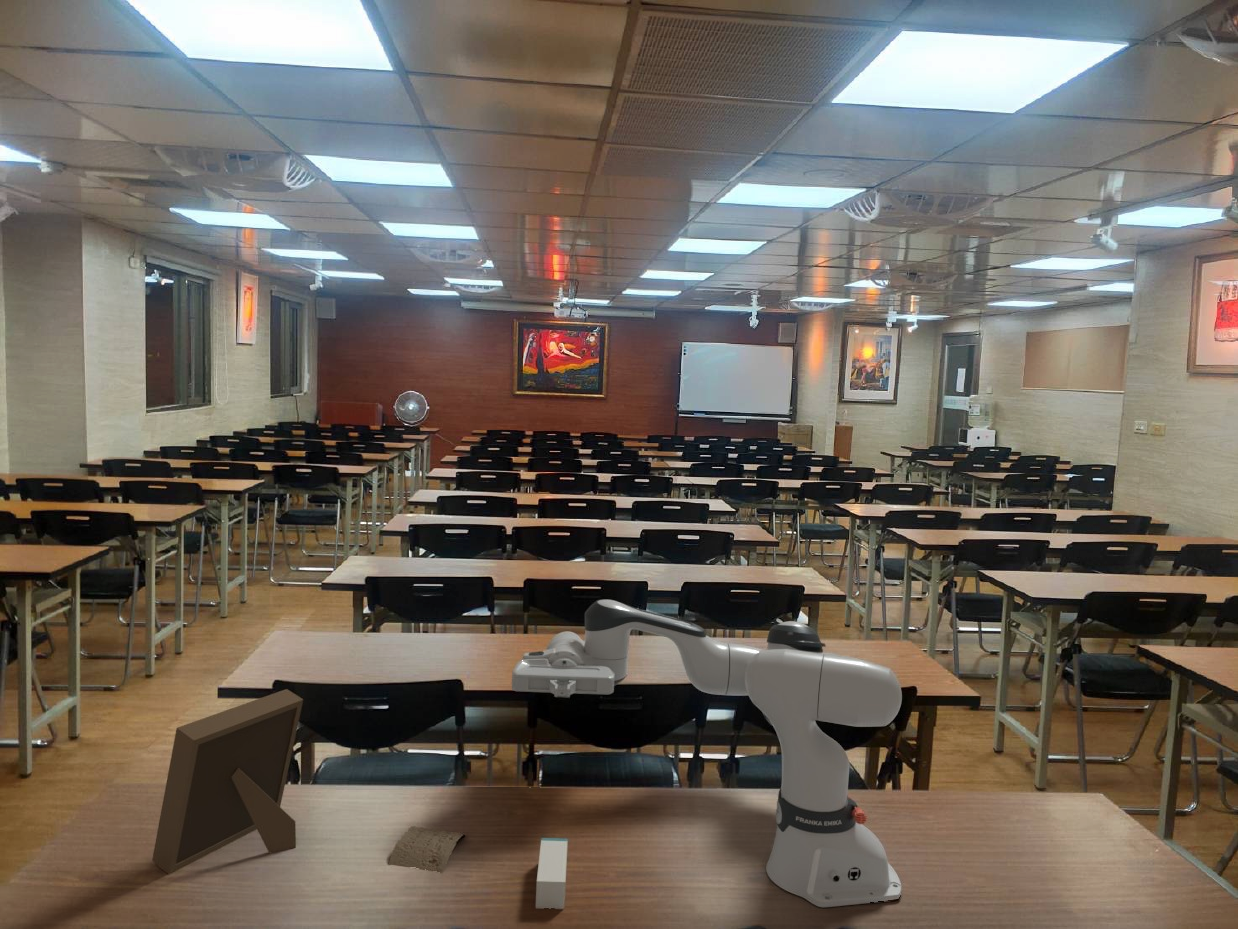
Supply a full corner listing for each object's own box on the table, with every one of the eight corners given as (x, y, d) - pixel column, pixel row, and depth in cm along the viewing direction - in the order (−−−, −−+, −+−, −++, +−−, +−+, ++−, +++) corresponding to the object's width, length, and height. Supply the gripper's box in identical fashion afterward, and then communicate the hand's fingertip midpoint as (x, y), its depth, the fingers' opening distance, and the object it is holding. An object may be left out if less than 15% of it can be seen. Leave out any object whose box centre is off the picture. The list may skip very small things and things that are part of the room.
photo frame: (152, 866, 142) (154, 719, 139) (261, 812, 161) (265, 682, 159) (212, 895, 135) (215, 742, 133) (319, 835, 154) (323, 700, 152)
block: (567, 838, 148) (565, 882, 135) (566, 863, 149) (564, 909, 136) (541, 838, 148) (536, 881, 135) (540, 863, 149) (535, 908, 136)
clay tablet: (417, 827, 159) (417, 813, 159) (470, 834, 158) (470, 819, 158) (384, 871, 145) (384, 856, 145) (442, 879, 143) (442, 863, 143)
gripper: (613, 686, 178) (615, 711, 165) (514, 682, 178) (508, 707, 164) (615, 656, 178) (617, 679, 164) (515, 652, 177) (509, 675, 163)
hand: (562, 693), depth 164 cm, fingers closed
